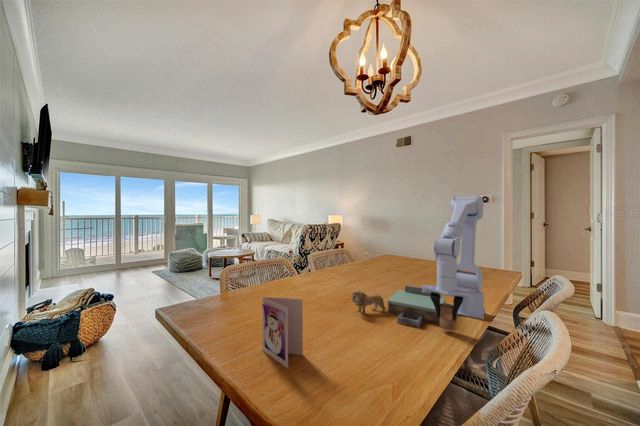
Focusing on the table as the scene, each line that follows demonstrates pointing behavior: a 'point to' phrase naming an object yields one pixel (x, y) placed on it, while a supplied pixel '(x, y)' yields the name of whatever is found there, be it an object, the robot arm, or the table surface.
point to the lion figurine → (367, 301)
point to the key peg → (446, 316)
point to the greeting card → (282, 328)
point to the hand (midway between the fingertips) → (446, 318)
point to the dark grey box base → (412, 315)
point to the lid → (414, 299)
